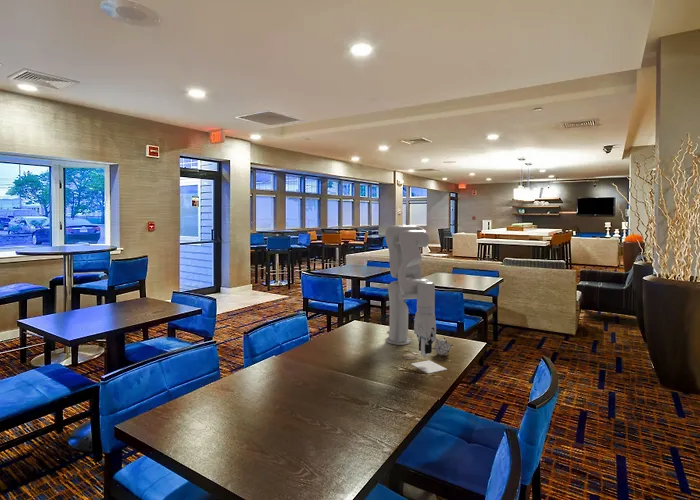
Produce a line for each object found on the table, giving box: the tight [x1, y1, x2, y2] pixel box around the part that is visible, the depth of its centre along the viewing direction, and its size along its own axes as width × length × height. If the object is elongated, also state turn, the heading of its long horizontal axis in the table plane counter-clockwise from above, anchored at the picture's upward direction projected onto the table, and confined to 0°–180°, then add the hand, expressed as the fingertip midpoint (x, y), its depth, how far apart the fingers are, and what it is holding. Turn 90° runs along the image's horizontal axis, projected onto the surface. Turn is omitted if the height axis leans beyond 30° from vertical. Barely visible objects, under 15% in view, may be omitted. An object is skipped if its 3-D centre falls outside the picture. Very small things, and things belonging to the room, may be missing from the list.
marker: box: [420, 337, 430, 357], centre depth 179 cm, size 4×4×9 cm
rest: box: [401, 353, 417, 361], centre depth 190 cm, size 6×6×1 cm
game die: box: [432, 337, 454, 358], centre depth 192 cm, size 9×8×10 cm
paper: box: [410, 359, 448, 374], centre depth 177 cm, size 12×10×1 cm
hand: (425, 351), depth 179 cm, fingers closed on marker, 3 cm apart
